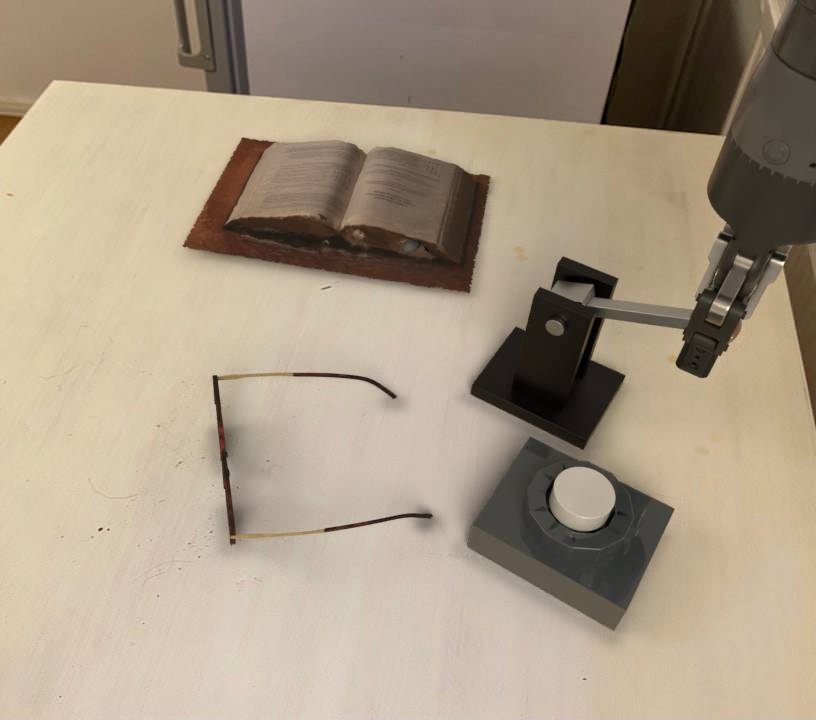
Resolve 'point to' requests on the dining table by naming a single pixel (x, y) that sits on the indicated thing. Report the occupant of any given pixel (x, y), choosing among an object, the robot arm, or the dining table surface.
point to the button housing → (569, 536)
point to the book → (346, 211)
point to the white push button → (582, 499)
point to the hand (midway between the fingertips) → (700, 351)
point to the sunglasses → (227, 474)
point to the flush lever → (627, 308)
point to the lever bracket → (555, 362)
